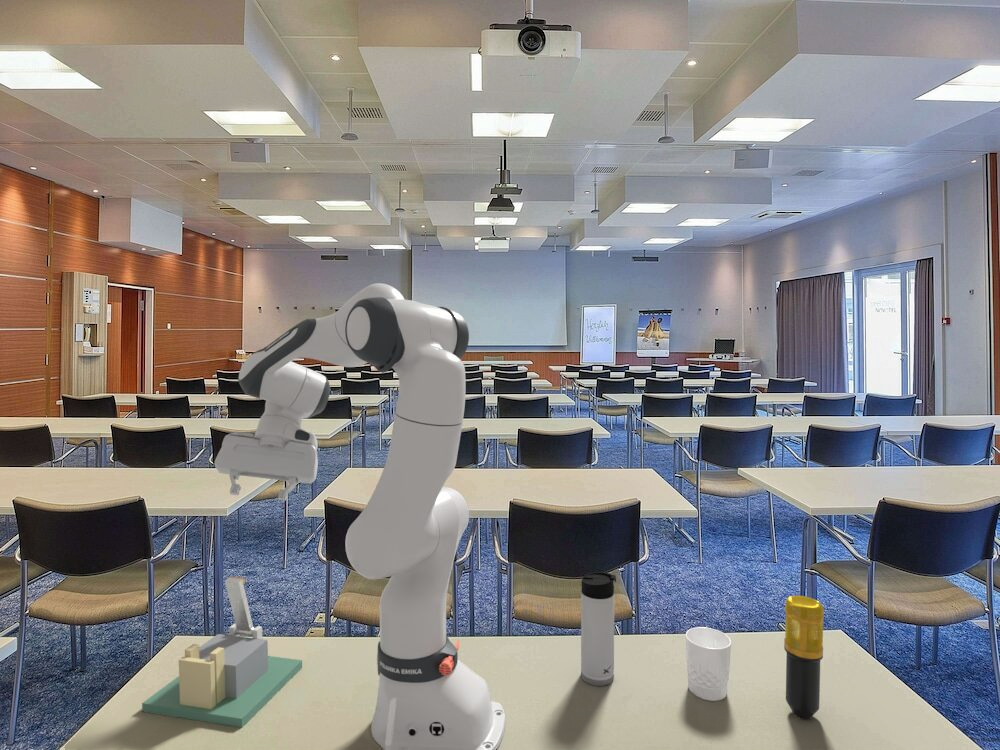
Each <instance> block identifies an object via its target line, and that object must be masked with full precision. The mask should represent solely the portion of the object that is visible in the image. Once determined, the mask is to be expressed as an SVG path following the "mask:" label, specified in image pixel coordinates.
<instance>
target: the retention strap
mask: <svg viewBox="0 0 1000 750" xmlns="http://www.w3.org/2000/svg"><path fill="white" fill-rule="evenodd" d="M224 582H225V587H226V591H227V595H228V596H227V597H228V599H229V603H230V604H229V605H230V606H231V607H230V608H231V612H232V615H233V621H234V624H236V630H235V634H236V635H239V636H240V637H249V638H253V633H252V630H253V629H254V628H255V627H254V625H253V619H252V615H251V612H250V607H249V604H248V598H247V595H246V590H245V585H244V584H245V583H246V579H245V577H240V576H229V577H227V578H226V579H225V580H224Z"/></svg>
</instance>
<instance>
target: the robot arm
mask: <svg viewBox="0 0 1000 750" xmlns="http://www.w3.org/2000/svg"><path fill="white" fill-rule="evenodd" d="M469 332H470V331H469V327H468V324H467V321H466V320H465V318H464V317H463V316H462V314H460V313H458V312H457V311H455V310H453V309H450V308H447V307H445V306H435V305H431V304H428V303H422V302H418V301H416V300H411V299H405V297H404V296H403V294H402V293H401V292H400V291H399V290H398V289H397V288H395V287H394V286H392V285H389V284H387V283H383V282H382V283H381V282H380V283H379V282H378V283H372V284H370V285H367V286H366V287H364V288H362V289H360V291H357V292H356V293H355V294H354V295H353V296H351V297H350V298H349V299H348V300H347V301H346V302H345V303H343V305H342V306H341V307H340V308H339V309H338V310H337V311H335V312H333V313H331V314H329V315H327V316H322V317H319V318H305V319H304V320H302V321H300V322H298V323H297V324H295V325H294V326H292V327H291V328H290V329H288V330H287V331H286V332H284V333H282V334H281V335H280V336H279V337H277V338H276V339H275V340H273V341H272V342H270V343H269V344H267V345H266V346H265V347H263V348H260V349H259V350H256V351H254V352H253V353H251V354H250V355H249V356H248V357H247V358H246V359H245V360H244V362H243V364H242V365H241V367H240V370H239V373H238V377H237V380H238V383H239V385H240V388H241V390H242V391H243V392H244V394H245V395H246V396H250V397H252V398H256V399H261V400H264V401H265V404H264V412H263V413H262V415H261V416H260V418H259V421H258V423H257V427H256V430H255V432H254V433H252V432H251V433H249V432H241V431H233V432H231V433H230V432H229V433H228V434H226V435H225V436H224V438H223V440H222V443H221V448H220V450H219V451H218V453H217V456H216V457H215V460H214V466H215V469H216V470H217V471H218V473H220V474H223V475H224V474H225V475H228V476H229V479H230V483H231V487H230V490H229V494H230V495H232V496H239V495H240V492H241V489H242V486H241V485H240V484H237V482H236V481H237V480H239V478H240V476H243V477H251V478H259V479H267V480H275V481H276V480H277V481H284V482H287V483H288V485H287V486H286V487H285V488H284V489H281V488H280V489H279V490H278V491H279V492H278V495H277V499H278V501H285V502H286V501H287V498H288V496H289V494H290V493H291V492H292V491H293V490H294V489H295V488H296V487H297V484H298V483H300V484H301V483H302V484H313V482H315V481H316V479H317V475H318V474H317V473H318V470H319V469H318V468H319V467H318V465H319V459H318V444H319V443H318V440H317V437H316V435H315V434H314V433H312V432H310V431H307V430H305V429H303V428H302V427H301V426H302V421H303V420H304V419H309V418H312V417H315V416H316V415H320V414H321V413H322V412H323V411H324V410H325V409H326V407H327V403H328V401H329V398H330V394H331V385H330V382H329V379H328V378H327V376H326V375H324V374H322V373H319V372H317V371H315V370H313V369H311V368H308V367H306V366H303V365H301V364H299V363H296V362H294V361H293V360H295V359H300V358H301V359H304V358H305V359H312V360H316V361H320V362H325V363H328V364H331V365H335V366H338V367H342V368H343V367H344V368H356V367H357V368H358V367H360V366H364V365H366V364H370V365H371V366H373V367H374V368H375V369H376V370H377V371H378V372H380V373H382V374H384V373H387V372H388V371H389V370H391V369H393V371H394V372H395V373H396V375H397V377H398V381H399V383H398V384H399V386H398V395H397V399H396V404H395V405H396V406H395V410H394V411H395V412H394V418H393V425H392V429H391V430H392V432H391V438H390V442H389V448H388V453H387V458H386V462H385V464H384V467H383V469H382V472H381V475H380V477H379V480H378V481H377V484H376V486H375V488H374V490H373V493H371V494H372V495H371V496H370V498H369V501H368V502H367V503H366V505H365V507H364V509H363V510H362V512H360V513H359V515H358V517H356V518H355V520H354V521H353V522H352V523H351V524H350V526H349V528H348V529H347V533H346V535H345V542H344V543H345V552H346V556H347V559H348V561H349V563H350V566H351V567H352V568H353V569H354V570H355V571H356V573H358V574H359V575H360V576H362V577H363V578H365V579H368V580H380V579H384V578H389V577H390V578H389V580H388V583H387V584H386V585H385V587H384V589H383V590H382V593H381V596H380V600H379V641H378V644H377V654H376V657H377V658H376V664H377V665H376V666H377V675H378V676H379V679H378V681H379V682H378V691H377V697H376V704H375V709H374V710H375V711H374V714H373V718H372V722H371V724H370V731H371V735H372V738H373V739H374V741H376V743H377V744H378V745H379V746H380V747H382V750H496V749H497V750H498V748H499V746H500V744H501V742H502V740H503V736H504V734H505V733H504V732H505V730H506V729H505V728H506V716H505V715H506V714H505V711H504V708H503V706H502V704H501V703H499V702H496V701H494V700H492V695H491V693H490V692H491V691H490V688H489V685H488V683H487V681H486V680H485V679H484V677H481V676H480V675H479V674H477V673H476V672H474V671H473V670H472V669H471V668H470V667H469V666H467V665H466V664H465V663H463V662H462V661H461V660H460V659H458V657H459V656H458V651H459V649H460V640H459V639H458V640H457V641H456V643H455V645H454V644H453V643H452V642H451V640H450V639H449V637H448V635H447V598H448V597H447V596H448V590H449V583H450V579H451V574H452V570H453V566H454V560H455V557H456V553H457V550H458V547H459V543H460V541H461V538H462V537H463V535H464V532H465V531H466V529H467V528H468V524H469V520H470V511H469V507H468V504H467V503H468V502H467V501H466V500H465V498H464V496H463V495H462V494H461V493H460V492H459V491H457V490H456V489H454V488H453V487H448V486H445V484H446V482H447V480H448V479H449V478H450V477H451V475H453V472H454V470H455V467H456V466H457V459H458V452H459V447H460V443H461V436H462V429H463V428H462V427H463V422H464V416H465V415H464V414H465V408H466V407H465V405H466V392H467V391H466V369H465V368H466V367H465V365H464V362H463V361H462V358H463V356H464V355H465V353H466V352H467V349H468V347H469V341H470V333H469ZM501 739H502V740H501Z"/></svg>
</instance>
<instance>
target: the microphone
mask: <svg viewBox="0 0 1000 750" xmlns="http://www.w3.org/2000/svg"><path fill="white" fill-rule="evenodd" d="M824 610H825V609H824V606H823V604H822V603H821V602H820V601H819V600H817V599H814V598H812V597H809V596H804V595H791V596H789V597H787V598H786V599H785V608H784V613H785V631H784V632H785V635H784V644H783V645H784V646H783V647H784V650H785V651H784V652H786V666H785V667H786V670H785V701H786V704H787V705H788V707H789V708H790V710H791V712H792V713H793V715H794V716H796V717H797V718H799V719H801V720H811V719H812V718H813V717H814V715H816V713H817V712H818V711H819V710H820V697H821V695H820V691H821V687H820V685H821V684H820V683H821V660H822V659H823V658H824V644H823V642H824V641H823V638H824V637H823V636H824V634H823V633H824V621H825V615H824V613H825V612H824Z"/></svg>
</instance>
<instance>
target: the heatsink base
mask: <svg viewBox="0 0 1000 750" xmlns="http://www.w3.org/2000/svg"><path fill="white" fill-rule="evenodd" d="M253 628H254V629H253V630H252V633H253V637H248V636H240V635H236V634H235V630H236V624H235V623H233V624H231V626H229V627H228V630H229V631H228V633H229V634H221V633H220V634H219V633H218V634H216V635H215V636H213V637H212V638H210V639H208V640H207V641H206V642H204V643H203V644H202V645H199V644H195V643H193V644H191V645H189V647H187V648H185V649H184V656H182V657H180V658H179V659H178V676H177V677H175V679H173V680H171V681H170V682H169V683H168V684H166V685H164V686H163V687H162V688H161V689H159V690H158V691H156V692H155V693H153V694H152V695H151V696H150V697H148V698H147V699H145V700H144V701H143V702H142V703H141V704H142V705H141V706H142V707H141V709H142V712H143V711H145V713H149V712H150V714H157V715H161V716H162V715H163V716H169V717H175V718H181V719H187V720H192V721H193V720H195V721H200V722H205V723H212V724H218V725H225V726H230V727H235V728H237V727H238V728H243V727H244V726H245V725H246V724H247V723H248V722H249V721H251V719H252V718H253V717H254V716H255V715H256V714H257V713H258V712H260V710H261V709H262V708H264V707H265V705H267V704H268V702H269V701H270V700H272V698H273V697H274V696H276V695H277V694H278V693H279V691H280V690H281V689H282V688H284V686H285V685H286V684H288V682H290V681H291V679H292V678H294V677H295V676H296V675H297V674H298V673H299V671H301V669H302V668H303V660H302V659H295V658H294V659H293V658H290V657H289V658H288V657H280V656H273V655H269V651H268V650H269V648H268V645H269V644H268V639H263V626H260V625H257V626H256V627H253Z"/></svg>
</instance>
